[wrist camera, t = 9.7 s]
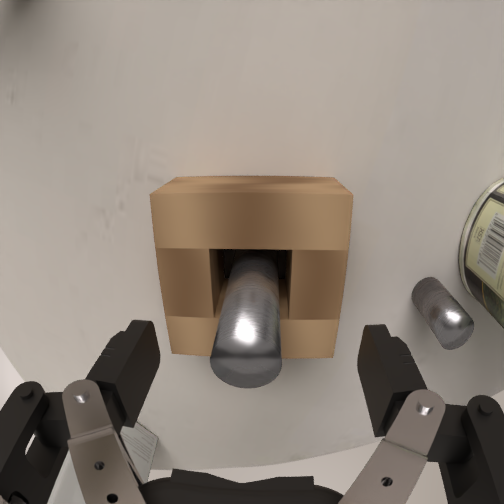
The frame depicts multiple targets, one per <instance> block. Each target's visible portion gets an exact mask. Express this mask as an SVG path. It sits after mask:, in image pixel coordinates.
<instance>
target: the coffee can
mask: <svg viewBox="0 0 504 504" xmlns="http://www.w3.org/2000/svg"><path fill="white" fill-rule="evenodd" d="M459 266H460V274H461V278H462V281H463V283H464V286H465V287H466V289H467V291H468V292H469V293H470V294H471V296H472V297H474V298H475V299H476V300H478V301H479V302H480V303H481V304H482V305H483V306H484V307H485V308H486V309H487V311H488V312H489V313H490V314H491V315H492V316H493V317H494V318H495V319H496V320H497V322H498V323H499V324H500V325H501V326H502V327H503V328H504V178H502V179H500V180H498V181H497V182H495V183H493V184H492V185H491V186H490V187H489V188H488V189H487V190H486V191H485V192H484V193H483V194H482V195H481V196H480V198H479V199H478V201H477V202H476V203H475V205H474V207H473V209H472V211H471V213H470V215H469V217H468V219H467V222H466V225H465V227H464V231H463V234H462V238H461V243H460V252H459Z"/></svg>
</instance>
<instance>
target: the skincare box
mask: <svg viewBox="0 0 504 504" xmlns="http://www.w3.org/2000/svg"><path fill="white" fill-rule="evenodd" d="M120 434H121V435H122V438H123V440H124V442H125V445H126V447H127V449H128V451H129V454H130V456H131V458H132V460H133V462H134V465H135V467H136V469H137V471H138V473H139V475H140V477H141V478H142V480H143V482H144V483H147V481H148V477H149V473H150V469H151V465H152V461H153V457H154V452H155V448H156V445H157V441H158V437H157V436H155V435H154V434H152V433H151V432H149V431H148V430H147V429H145V428H144V427H143V426H141V425H140V424H139V423H137V422H136V423H135V426H134V428H130V427H125V426H123V427H122V430H121V432H120ZM47 504H86V503H85V500H84V498H83V495H82V492H81V489H80V486H79V482H78V479H77V476H76V473H75V469H74V466H73V462H72V459H71V455H70V451H68V453H67V455H66V458H65V460H64V463H63V465H62V467H61V470H60V472H59V475H58V477H57V480H56V482H55V485H54V487H53V490H52V492H51V495H50V498H49V500H48V503H47Z"/></svg>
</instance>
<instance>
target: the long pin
mask: <svg viewBox="0 0 504 504" xmlns="http://www.w3.org/2000/svg"><path fill="white" fill-rule="evenodd" d="M210 364H211V367H212V370H213V372H214V373H215V374H216V376H217V377H218V378H220V379H221V380H222V381H224V382H225V383H227V384H229V385H232V386H235V387H240V388H256V387H261V386H264V385H266V384H268V383H270V382H271V381H273V380H274V379H275V378H276V377H277V376H278V374H279V373H280V370H281V367H282V356H281V330H280V307H279V285H278V266H277V249H236V252H235V256H234V261H233V265H232V269H231V273H230V277H229V281H228V285H227V289H226V293H225V298H224V302H223V306H222V310H221V314H220V318H219V323H218V327H217V331H216V335H215V340H214V344H213V348H212V352H211V357H210Z"/></svg>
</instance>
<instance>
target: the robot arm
mask: <svg viewBox="0 0 504 504" xmlns="http://www.w3.org/2000/svg"><path fill="white" fill-rule="evenodd" d="M159 364H160V350H159V346H158V341H157V337H156V332H155V328H154V324H153V322H152V321H145V320H132V321H131V323H130V325H129V326H128V328H127V329H126V331H120V332H119V333H117V334H116V335H115V336H113V337H112V338H111V339H110V341H109V342H108V344H107V345H106V348H105V349H104V350H103V352H102V353H101V356H99V358H98V359H97V361H96V362H95V364H94V366H93V367H92V369H91V370H90V372H89V374H88V375H87V377H86V378H85V379H83V380H77V381H74V382H72V383H71V384H69V385H68V386H67V387H66V388H65V389H64V391H63V392H50V393H45V391H44V389H43V388H42V386H41V385H40V384H39V383H37V382H33V381H29V382H25V383H22V384H20V385H19V386H17V387H16V389H15V390H14V391H13V392H12V394H11V395H10V397H9V398H8V400H7V401H6V403H5V404H4V406H3V407H2V409H1V411H0V504H47V503H48V500H49V498H50V495H51V492H52V490H53V487H54V485H55V482H56V480H57V477H58V475H59V472H60V470H61V467H62V465H63V463H64V460H65V458H66V455H67V453H68V451H70V455H71V459H72V462H73V466H74V469H75V473H76V476H77V479H78V482H79V486H80V489H81V492H82V495H83V498H84V500H85V503H86V504H405V503H406V502H407V500H408V498H409V496H410V494H411V492H412V490H413V488H414V486H415V485H416V482H417V481H418V479H419V477H420V474H421V472H422V470H423V468H424V466H425V464H426V462H427V461H428V462H438V464H439V467H440V471H441V475H442V479H443V484H444V488H445V492H446V496H447V501H448V504H504V413H503V411H502V409H501V407H500V405H499V404H498V402H496V401H495V400H494V399H493V398H491V397H488V396H485V395H478V396H475V397H473V398H472V399H471V400H470V401H469V402H468V404H467V406H461V405H450V404H445V402H444V400H443V399H442V398H441V396H439V395H438V394H437V393H435V392H433V391H430V390H428V389H427V387H426V384H425V382H424V380H423V378H422V376H421V374H420V372H419V369H418V367H417V365H416V363H415V361H414V359H413V357H412V356H411V353H410V351H409V349H408V347H407V345H406V344H405V343H404V342H403V341H402V340H401V339H400V338H398V337H391V336H390V333H389V331H388V329H387V327H386V325H385V324H380V325H365V327H364V330H363V335H362V340H361V345H360V349H359V354H358V361H357V366H358V373H359V377H360V380H361V384H362V388H363V392H364V395H365V399H366V403H367V407H368V411H369V415H370V419H371V423H372V427H373V431H374V435H375V437H382V436H385V438H383V439H382V441H381V442H380V444H379V445H378V447H377V448H376V450H375V452H374V453H373V455H372V456H371V458H370V459H369V461H368V462H367V464H366V465H365V467H364V469H363V470H362V471H361V473H360V474H359V476H358V477H357V479H356V480H355V481H354V483H353V484H352V485H351V487H350V488H349V490H348V491H347V492H346V494H345V495H342V494H340V493H339V492H337V491H334V490H332V489H329V488H326V487H322V486H319V485H314V479H313V476H304V477H275V478H270V479H265V480H260V481H254V482H248V483H237V482H233V481H230V480H227V479H224V478H220V477H217V476H214V475H211V474H208V473H202V472H194V471H186V470H179V469H173V471H172V475H171V477H166V478H160V479H156V480H152V481H149V482H147V483H144V482H143V480H142V478H141V477H140V475H139V473H138V471H137V469H136V467H135V465H134V462H133V460H132V458H131V456H130V454H129V451H128V449H127V447H126V445H125V442H124V440H123V438H122V435H121V434H120V432H121V430H122V427H123V426H125V427H130V428H134V426H135V423H136V421H137V418H138V416H139V414H140V411H141V409H142V406H143V404H144V401H145V399H146V396H147V394H148V392H149V389H150V387H151V384H152V382H153V380H154V377H155V375H156V372H157V370H158V368H159ZM33 433H34V435H35V438H34V440H33V442H32V444H31V446H30V448H29V450H28V452H27V454H26V455H25V450H26V447H27V445H28V443H29V441H30V439H31V437H32V435H33Z"/></svg>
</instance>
